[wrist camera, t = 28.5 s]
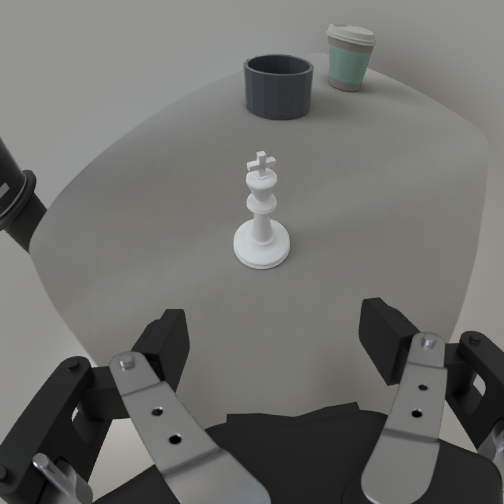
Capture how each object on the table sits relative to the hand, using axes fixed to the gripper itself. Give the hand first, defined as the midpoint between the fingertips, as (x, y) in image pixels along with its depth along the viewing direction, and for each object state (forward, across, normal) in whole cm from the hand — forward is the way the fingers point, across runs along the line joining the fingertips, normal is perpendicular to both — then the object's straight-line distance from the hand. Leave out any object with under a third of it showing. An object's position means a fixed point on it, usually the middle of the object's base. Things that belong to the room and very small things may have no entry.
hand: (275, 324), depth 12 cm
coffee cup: (+37, -17, -24) cm, 47 cm away
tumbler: (+30, -4, -18) cm, 36 cm away
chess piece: (+13, 0, -1) cm, 13 cm away
